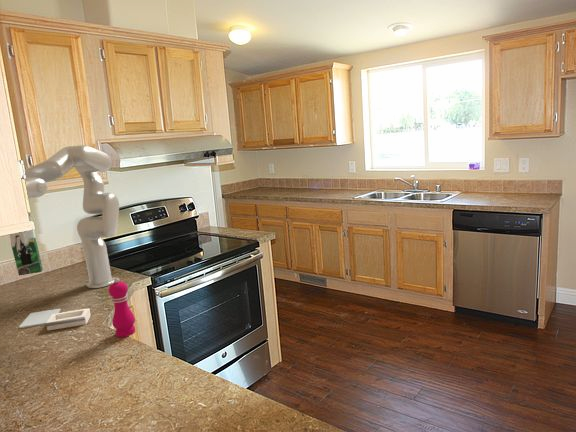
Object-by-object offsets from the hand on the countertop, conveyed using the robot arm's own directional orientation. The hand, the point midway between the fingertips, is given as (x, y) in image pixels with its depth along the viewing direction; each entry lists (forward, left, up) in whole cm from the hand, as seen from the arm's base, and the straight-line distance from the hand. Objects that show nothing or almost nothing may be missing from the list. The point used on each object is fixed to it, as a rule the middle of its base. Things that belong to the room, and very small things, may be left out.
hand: (28, 262), depth 162 cm
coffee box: (0, 0, -4) cm, 4 cm away
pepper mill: (+27, +34, -23) cm, 50 cm away
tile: (0, 0, -23) cm, 23 cm away
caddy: (+9, +12, -23) cm, 28 cm away
